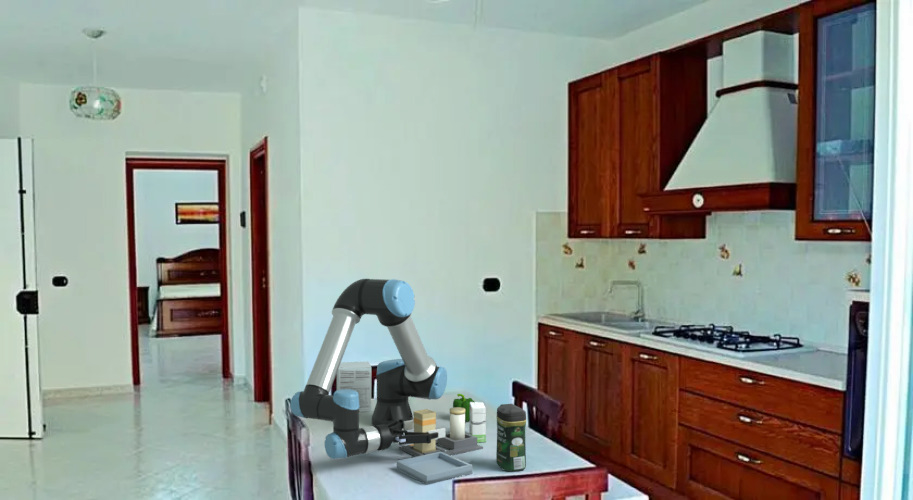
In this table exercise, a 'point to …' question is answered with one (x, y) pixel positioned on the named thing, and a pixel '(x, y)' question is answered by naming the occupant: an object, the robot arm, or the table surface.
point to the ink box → (478, 421)
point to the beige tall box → (424, 428)
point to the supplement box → (356, 381)
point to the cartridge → (457, 423)
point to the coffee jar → (511, 438)
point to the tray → (434, 467)
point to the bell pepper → (463, 405)
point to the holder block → (448, 446)
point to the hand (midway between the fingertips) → (432, 427)
